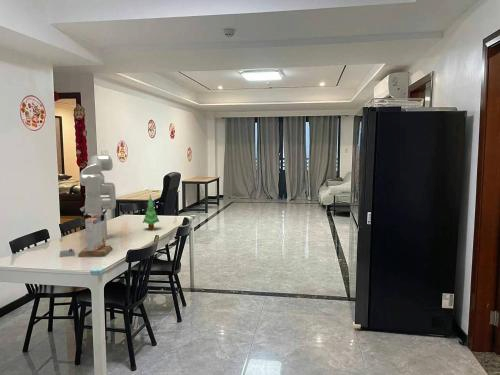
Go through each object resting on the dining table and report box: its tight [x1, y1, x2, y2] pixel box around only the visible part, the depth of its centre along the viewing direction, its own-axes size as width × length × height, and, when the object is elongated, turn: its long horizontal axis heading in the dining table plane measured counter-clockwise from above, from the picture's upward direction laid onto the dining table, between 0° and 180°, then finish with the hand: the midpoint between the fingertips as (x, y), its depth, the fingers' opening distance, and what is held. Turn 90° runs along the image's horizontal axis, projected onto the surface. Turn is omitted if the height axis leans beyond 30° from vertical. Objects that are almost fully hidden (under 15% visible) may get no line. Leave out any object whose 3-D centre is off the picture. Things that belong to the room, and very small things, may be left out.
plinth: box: [77, 245, 113, 258], centre depth 231 cm, size 16×16×3 cm
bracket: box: [59, 248, 76, 258], centre depth 226 cm, size 5×8×4 cm, turn 114°
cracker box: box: [84, 215, 107, 251], centre depth 230 cm, size 14×6×21 cm, turn 176°
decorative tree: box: [142, 194, 160, 231], centre depth 302 cm, size 14×16×30 cm
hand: (94, 220), depth 229 cm, fingers open, 9 cm apart
